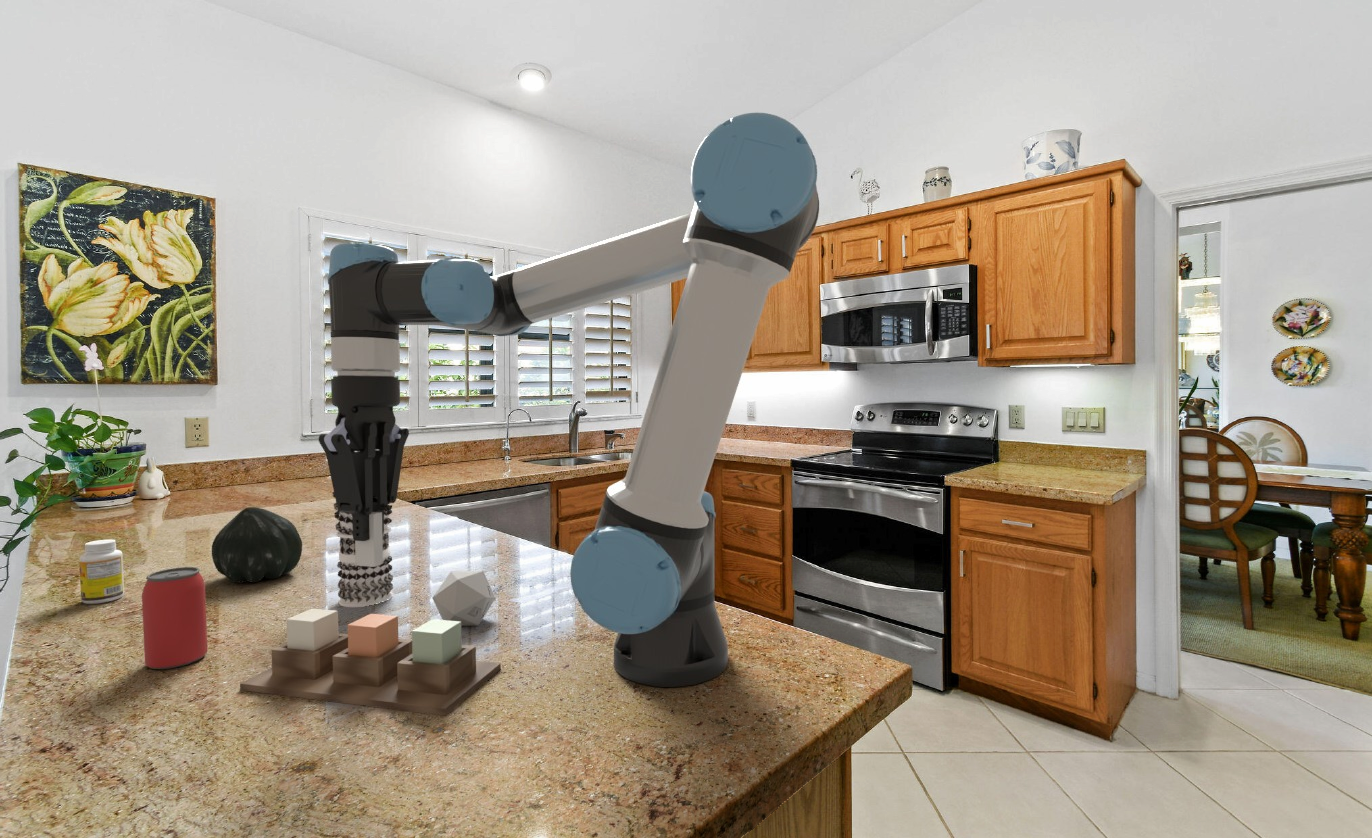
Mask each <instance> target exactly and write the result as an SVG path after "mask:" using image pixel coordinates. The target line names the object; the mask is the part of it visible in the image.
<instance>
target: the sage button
mask: <svg viewBox="0 0 1372 838" xmlns="http://www.w3.org/2000/svg"><path fill="white" fill-rule="evenodd" d="M411 640H412V654H413V661H414V662H423V663H433V664H442V665H443V664H445V663H446V662H448V661H449V660H451V659H452V658H453V657H455V656H456V655H458V654H459V653H460V652H462V645H463V644H462V642H463V641H462V626H461V622H460V621H449V620H442V619H436V618H431V619H430V620H429V621H427V622H425V623H423V624H421V625H419V626H417V627H416V628H415V629H413V630H411Z"/></svg>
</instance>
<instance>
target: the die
mask: <svg viewBox="0 0 1372 838" xmlns="http://www.w3.org/2000/svg"><path fill="white" fill-rule="evenodd" d="M432 600H433V602H434V604H435V607H436V610H437V611H438V613H439V614H440V618H441V620H449V621H460V622H461V627H463V626H465V627H468V626H469V627H471V626H473V627H474V626H475V627H476V626H477V627H478V626H480V625H481V622H482V621H483V619H484V618H485V616H486V615H487V613H488V611H489V609H491V607H492V604H494V601H495V600H496V597H495V595H494V592H493V590H492V587H491V584H490V583H489V581H488V578H487V576H486V574H485V572H484V570H471V571H470V570H469V571H468V570H466V571H465V570H464V571H463V570H462V571H459V570H458V571H456V570H455V571H454V570H452V571H450V572H449V574H448V575H447V576H446V578H445V579H444V581H443V582H442V584H441V585H440V586H439V588H438V589H437V590H436V591H435V593H434V594H433V596H432Z"/></svg>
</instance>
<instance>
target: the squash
mask: <svg viewBox="0 0 1372 838" xmlns="http://www.w3.org/2000/svg"><path fill="white" fill-rule="evenodd" d="M302 553H303V541H302V538H301V536H300V534H299V531H298V529H297V528H296V526H295V525H294V524H293V522H291V521H290V520H289V519H287V518H286V517H283V516H282V515H279V514H277V513H275V512H272V511H271V510H267V509H264V508H260V507H255V506H248V507H244V508H243V509H241V510H240V511H239V512H238V513H237V515H235V516H234V517H233V518H232V519H231V520H229V521H228V523H226V524H225V525H224V526H223V527H222V528H221V530H220V531H219V532H218V533H217V534H216V535H215V537H214V539H213V542H212V545H211V558H212V561H213V563H214V564H213V565H214V567H215V569H216V570H217V572H218V573H220V574H221V575H222V576H224V577H226V579H228V580H230V581H231V582H232V583H236V584H237V583H238V584H240V583H246V582H250V583H253V584H255V583H257V582H260V581H261V580H263V578H264V577H265V578H266V579H268V580H269V579H270V580H272V579H278V578H279V577H280V576H283V575H286V574H288V573H290V572H291V571H293V570H294V569H295V568H296V567H297V565H298V564H299V562H300V560H301V557H302Z"/></svg>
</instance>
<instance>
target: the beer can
mask: <svg viewBox="0 0 1372 838" xmlns="http://www.w3.org/2000/svg"><path fill="white" fill-rule="evenodd" d="M200 571H201V570H200V568H198V567H194V566H185V567H183V566H182V567H174V568H167V569H163V570H157V571H155V572H151V573H150V574H148V575H147V576H146V581H145V585H144V586H143V589H142V594H141V599H142V600H141V605H142V627H143V648H144V649H143V651H144V664H145V665H146V666H147V667H148V668H149V669H153V670H167V669H168V670H170V669H174V668H175V669H176V668H180V667H185V666H187V665H189V664H192V663H195V662H197V661H199V660H200V659H202V658H204V656H205V655H206V654H207V652H208V629H207V627H208V626H207V608H206V607H207V604H206V582H205V581H204V577H203V576H202V574H201V572H200Z"/></svg>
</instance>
